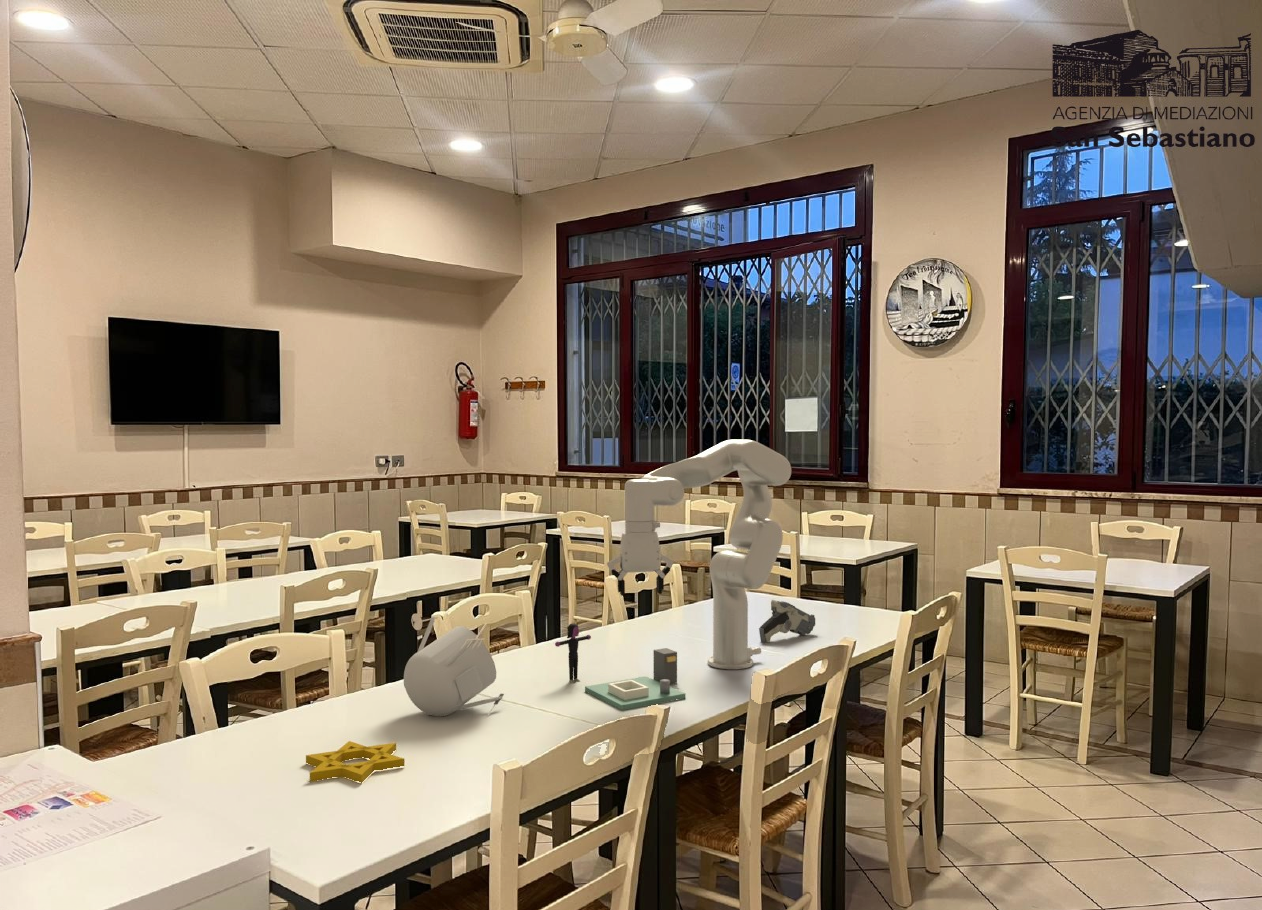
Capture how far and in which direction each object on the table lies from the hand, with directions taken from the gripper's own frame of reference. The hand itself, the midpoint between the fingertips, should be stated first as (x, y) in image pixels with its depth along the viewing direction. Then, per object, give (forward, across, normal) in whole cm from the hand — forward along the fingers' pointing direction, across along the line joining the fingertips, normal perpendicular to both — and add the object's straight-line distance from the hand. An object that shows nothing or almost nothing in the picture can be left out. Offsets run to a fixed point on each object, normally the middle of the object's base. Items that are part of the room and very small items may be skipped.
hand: (640, 593), depth 232 cm
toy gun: (+25, -55, -41) cm, 73 cm away
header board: (+23, +4, +10) cm, 25 cm away
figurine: (+23, +17, -6) cm, 29 cm away
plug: (+23, -6, 0) cm, 24 cm away
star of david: (+22, +66, +46) cm, 84 cm away
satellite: (+23, +48, +15) cm, 55 cm away
